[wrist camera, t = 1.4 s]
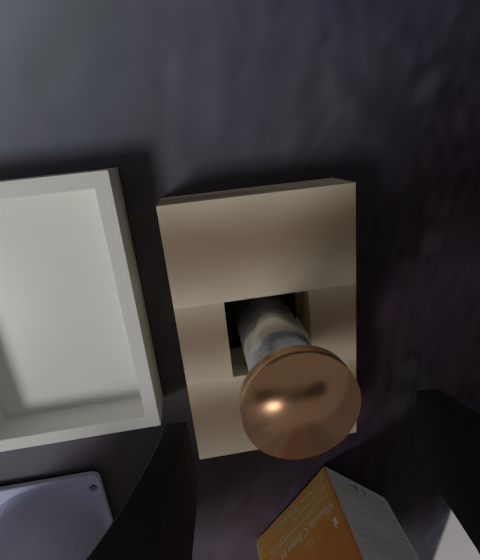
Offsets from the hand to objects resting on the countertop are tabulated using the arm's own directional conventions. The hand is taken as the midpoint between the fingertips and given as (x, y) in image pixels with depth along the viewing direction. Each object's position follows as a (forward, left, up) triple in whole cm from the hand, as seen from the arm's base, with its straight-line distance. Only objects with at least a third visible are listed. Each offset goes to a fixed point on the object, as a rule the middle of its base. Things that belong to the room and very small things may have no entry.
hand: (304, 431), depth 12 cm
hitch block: (-1, 0, -11) cm, 11 cm away
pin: (-1, 0, -11) cm, 11 cm away
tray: (+1, +11, -11) cm, 15 cm away
